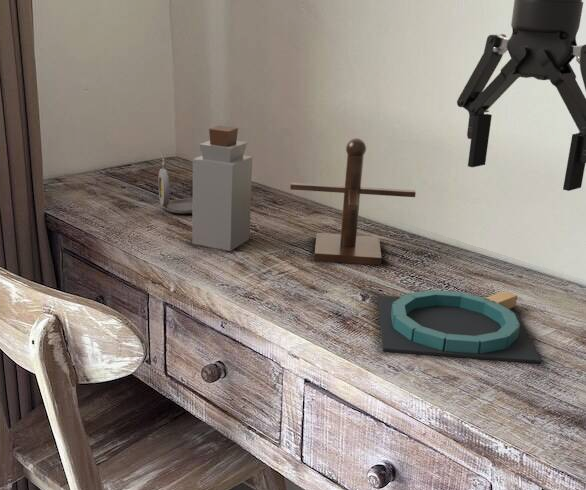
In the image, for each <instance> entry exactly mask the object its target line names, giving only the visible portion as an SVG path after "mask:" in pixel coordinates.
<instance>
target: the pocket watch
mask: <svg viewBox="0 0 586 490" xmlns="http://www.w3.org/2000/svg"><path fill="white" fill-rule="evenodd" d="M160 157H161V159H162V163H161V164H162V168H160V169H159V172H158V182H157V183H158V197H159V202H160V206H161V207H163V208H165V210H167V212H170V213H175V214H181V215H189V214H192V204H193V199H173V200H170V197H171V195H170V194H171V187H170V186H171V185H170V176H169V172H168V170H167V162H166V159H165V158H164V155H163V154H161V155H160Z"/></svg>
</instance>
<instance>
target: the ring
mask: <svg viewBox="0 0 586 490" xmlns="http://www.w3.org/2000/svg"><path fill="white" fill-rule="evenodd" d="M517 300H518V294H515V293H513V292H510V291H507V290H503V291H500V292H497V293H495V294H492V295H489V296H487V297H482V296H479V295H475V294H471V293H467V292H462V291H452V290H438V289H433V290H432V289H428V290H421V291H416V292H409V293H406V294H403V295H402V296H401V297H400V298H399V299H398V300H396V301H395V302H393V304H392V310H391V318H392V325H393V327H394V329H395V330H397V331H398V332H400V333H401V334H402V335H404V336H405V337H406V338H408V339H409V340H411V341H413V342H416V343H419V344H422V345H425V346H428V347H432V348H435V349H438V350H441V351H443V350H445V351H447V352H460V353H473V354H478V353H479V354H482V353H487V352H492V351H497V350H502V349H506V348H508V347H509V346H510V345H511V344H512V343H513V342H514V341H515V340H516V339H517V338H518V334H519V328H520V324H519V322H518V320H517V318H516V316H515V314H514V312H512V311H511V310H509V309H510V308H513V307H515V308H516V306H517ZM429 306H449V307H460V308H464V309H467V310H471V311H475V312H478V313H482V314H484V315H486V316H488V317H489V318H491V319H493V320H495V321H496V322H498V323H500V326H501V329H500V330H498V331H497V332H493V333H488V334H483V335H477V336H469V335H456V334H446V333H443V332H439V331H436V330H433V329H429V328H426V327H423V326H421V325H419V324H418V323H417V322H415V321H414V320H412V319H411V318H409V317H408V316H407V315H406V314H408V313H409V312H411V311H412V310H413V309H417V308H423V307H429Z"/></svg>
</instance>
